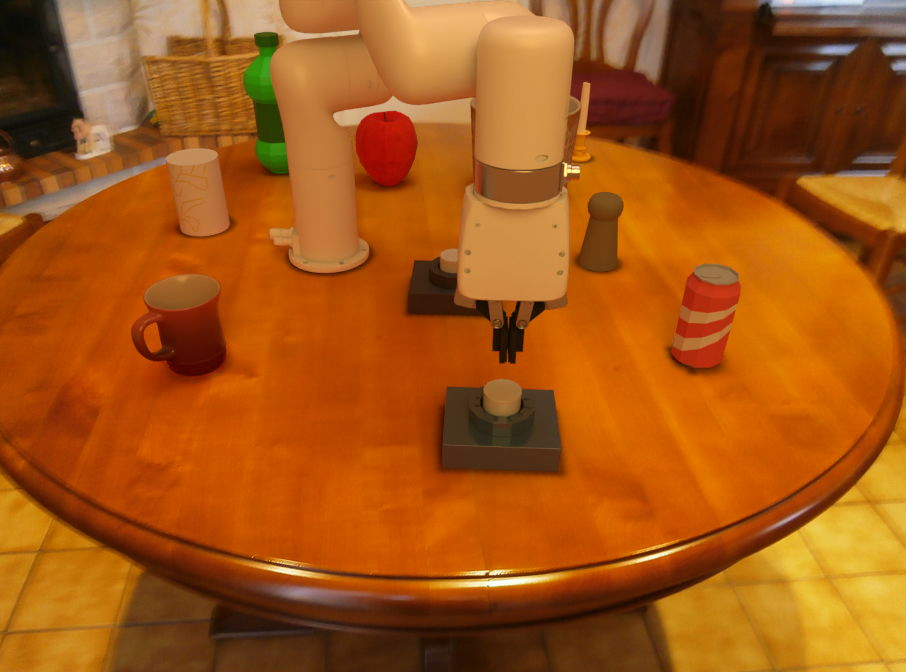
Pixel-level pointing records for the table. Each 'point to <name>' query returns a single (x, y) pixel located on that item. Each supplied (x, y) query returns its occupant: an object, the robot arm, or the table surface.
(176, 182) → the cup
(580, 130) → the candle
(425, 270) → the dark brown button base
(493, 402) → the beige push button
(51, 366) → the table surface
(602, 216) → the pawn
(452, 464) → the front button base
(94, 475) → the table surface
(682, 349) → the beverage can
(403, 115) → the apple
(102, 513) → the table surface
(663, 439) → the table surface
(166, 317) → the mug
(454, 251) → the push button
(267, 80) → the plastic bottle
